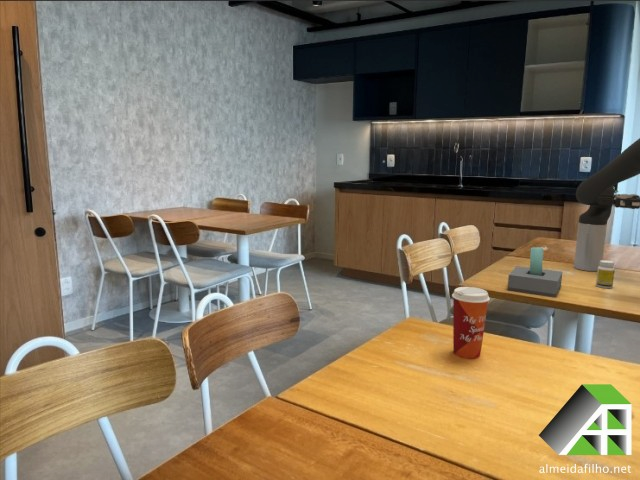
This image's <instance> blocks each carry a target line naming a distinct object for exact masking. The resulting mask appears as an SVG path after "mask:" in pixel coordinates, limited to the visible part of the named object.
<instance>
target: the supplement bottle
mask: <svg viewBox="0 0 640 480" xmlns="http://www.w3.org/2000/svg"><path fill="white" fill-rule="evenodd" d="M614 267H615V261H612V260H604V259H603V260H601V261H600V266H599V267H598V271H596V272H597V273H596V281H595V285H596V287H597V288H601V289H602V288H603V289H612V288H613V286H614V278H615V268H614Z"/></svg>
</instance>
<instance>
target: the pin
mask: <svg viewBox="0 0 640 480" xmlns="http://www.w3.org/2000/svg"><path fill="white" fill-rule="evenodd" d="M529 256H530V258H529V259H530V260H529V268H530V274H532V275H539V276H542V269H543V263H544V262H543V261H544V248H543V247H537V246H534V247H531V248H530V255H529Z"/></svg>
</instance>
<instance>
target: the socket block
mask: <svg viewBox="0 0 640 480" xmlns="http://www.w3.org/2000/svg"><path fill="white" fill-rule="evenodd" d="M562 278H563V271H561V270H551V269H545V268H544V269H543V268H542V276H539V275H532V274H530V267H527V266H518V265H516V266H515V267H514V268H513V269H512V271H511V272H510V273H509V274H508V278H507V279H508V280H507V291H509V292H517V293H524V294H530V295H537V296H544V297H549V298H550V297H551V298H557V296H558V294H559V292H560V290H561V288H562V281H563V279H562Z"/></svg>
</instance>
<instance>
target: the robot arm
mask: <svg viewBox="0 0 640 480" xmlns="http://www.w3.org/2000/svg"><path fill="white" fill-rule="evenodd" d="M638 175H640V137H639V138H638V139H636V140H635V141H634V142H633V143H631V144H630V145H629V146H627V148H625V149H624V150H623V151H622V152H621V153H619V154H618V155H617V156H616V157H615V158H614V159H612V160H611V161H610V162H608V163H607V164H606V165H605V166H604V167H603V168H601V169H600V170H599V171H597V172H595V173H593V174H592V175H590V176H589V177H588V178H586V179H585V180H583V181H582V182H581V183H580V184H579V185H578V186H577V188H576V192H575V198H576V200H577V202H579V203H580V204H582V205H586V206H589V207H588V208H587V210H586V211H584V212H583V213H581V214H580V215H579V217H578V223H577V225H578V226H577V235H576V245H575V253H574V254H575V255H574V262H573V268H575V269H577V270H579V271H580V270H581V271H587V272H597V271H598V267H599V266H600V261H601V260H604V255H605V254H604V253H605V244H606V236H607V230H608V229H607V227H608V220H609V218H610V216H612V215H611V214H612V209H613V208H620V209H630V210H635V209H636V210H638V209H640V195H639V194H635V193H632V194H631V193H630V194H627V193H621V194H620V193H617V194H615V189H614V186H615V185H618V184H620V183H621V182H624V181H627V180H629V179H631V178H633V177H636V176H638ZM612 207H613V208H612Z"/></svg>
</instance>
